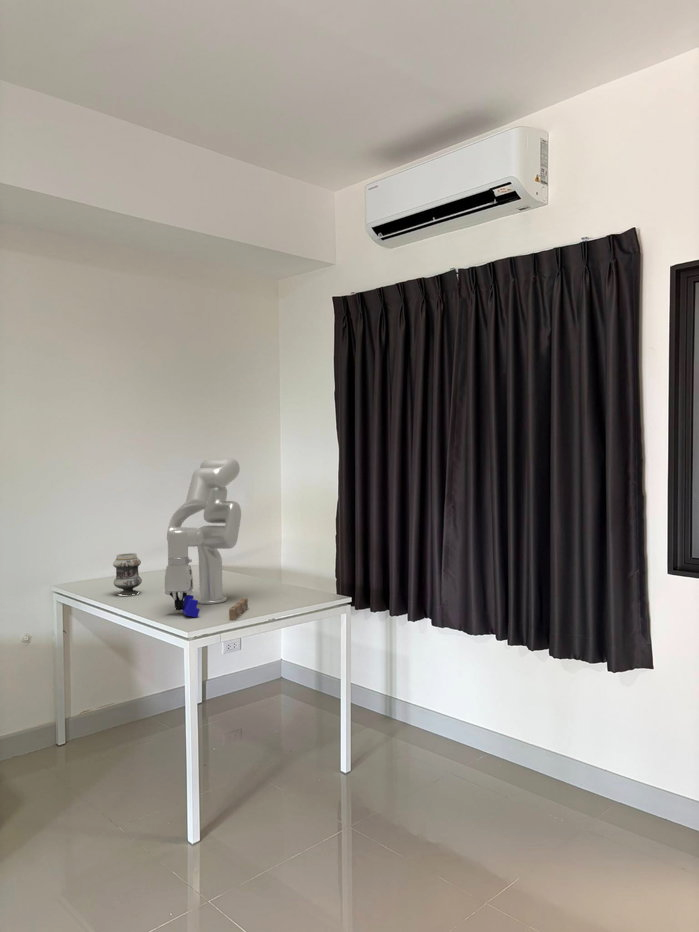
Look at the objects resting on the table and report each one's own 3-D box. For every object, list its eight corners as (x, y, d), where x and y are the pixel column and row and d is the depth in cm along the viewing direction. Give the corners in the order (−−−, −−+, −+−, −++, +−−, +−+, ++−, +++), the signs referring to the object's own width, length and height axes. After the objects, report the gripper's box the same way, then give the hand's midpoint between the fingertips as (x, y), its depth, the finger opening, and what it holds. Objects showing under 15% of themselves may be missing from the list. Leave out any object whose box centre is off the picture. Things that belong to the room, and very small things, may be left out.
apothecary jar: (129, 590, 320) (128, 551, 320) (147, 593, 313) (146, 553, 313) (107, 595, 310) (106, 555, 309) (126, 598, 303) (125, 556, 303)
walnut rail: (242, 608, 276) (242, 598, 276) (247, 608, 276) (247, 598, 276) (229, 620, 256) (229, 609, 256) (234, 620, 256) (234, 609, 256)
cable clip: (197, 617, 261) (202, 601, 262) (185, 615, 260) (190, 599, 261) (192, 611, 273) (196, 596, 273) (181, 608, 271) (185, 593, 272)
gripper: (200, 560, 270) (201, 607, 270) (163, 560, 272) (164, 607, 272) (193, 563, 263) (194, 611, 263) (155, 563, 265) (156, 611, 265)
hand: (179, 609), depth 267 cm, fingers closed
